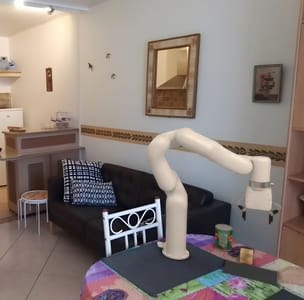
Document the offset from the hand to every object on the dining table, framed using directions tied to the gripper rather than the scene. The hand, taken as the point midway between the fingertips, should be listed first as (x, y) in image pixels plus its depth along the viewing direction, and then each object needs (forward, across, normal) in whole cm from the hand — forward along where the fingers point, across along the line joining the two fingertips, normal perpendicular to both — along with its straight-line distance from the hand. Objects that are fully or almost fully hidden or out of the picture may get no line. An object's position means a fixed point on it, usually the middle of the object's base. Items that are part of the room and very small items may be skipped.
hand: (256, 221), depth 142 cm
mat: (+21, +2, +8) cm, 22 cm away
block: (+21, +3, -2) cm, 21 cm away
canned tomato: (+21, +14, -12) cm, 28 cm away
